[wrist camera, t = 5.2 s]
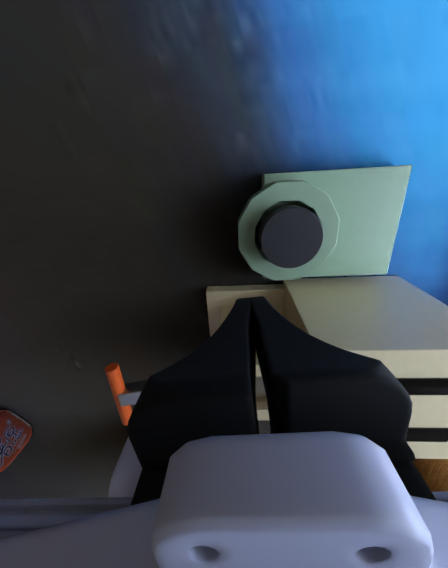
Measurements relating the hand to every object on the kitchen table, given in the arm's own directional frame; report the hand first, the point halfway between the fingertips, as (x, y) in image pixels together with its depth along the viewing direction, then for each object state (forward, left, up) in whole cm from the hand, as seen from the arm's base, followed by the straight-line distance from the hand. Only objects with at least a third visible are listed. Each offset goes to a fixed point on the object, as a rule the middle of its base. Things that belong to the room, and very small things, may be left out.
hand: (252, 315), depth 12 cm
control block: (+7, +1, -10) cm, 12 cm away
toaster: (+6, -9, -10) cm, 15 cm away
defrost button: (+3, +2, -7) cm, 8 cm away
